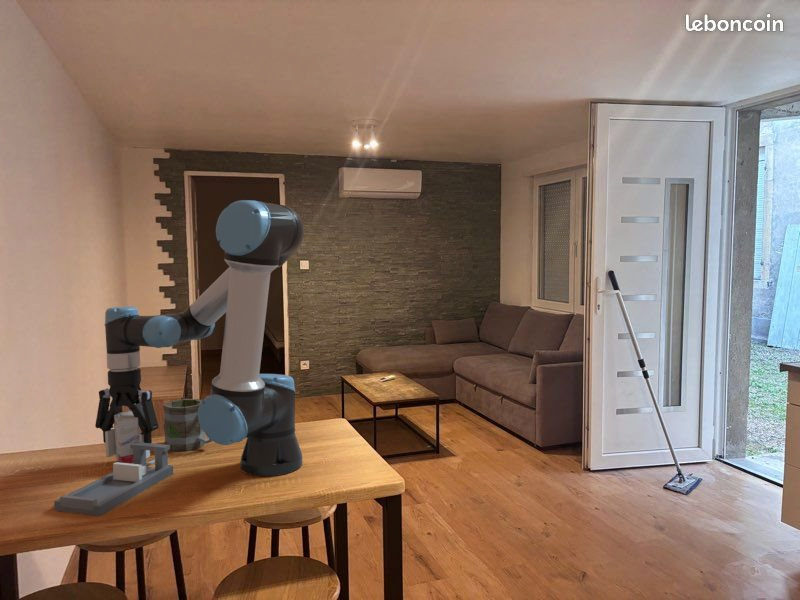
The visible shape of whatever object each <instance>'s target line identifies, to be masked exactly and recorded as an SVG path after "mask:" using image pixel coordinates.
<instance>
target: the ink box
mask: <svg viewBox="0 0 800 600" xmlns="http://www.w3.org/2000/svg"><path fill="white" fill-rule="evenodd" d="M113 427H114V428H113V429H114V432H115V449H116V454H115V459H116V460H117V462H119V463H129V464H130V463H132V462H134V460H133V449H130V444H133V443H135V442H139V434H140V427H139V425H138V418H137V417H134V415H133V413H132V411H131V410H129V411H122V412H118V414H115V415H114V424H113Z"/></svg>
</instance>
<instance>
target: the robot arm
mask: <svg viewBox="0 0 800 600" xmlns="http://www.w3.org/2000/svg"><path fill="white" fill-rule="evenodd" d="M304 235H305V228H304V223H303V221H302V219H301V217H300V215H299V214H298V213H297V212H296V211H295V210H294V209H292V208H291V207H289V206H287V205H285V204H284V205H283V204H278V203H277V204H275V203H270V202H264V201H258V200H254V199H253V200H250V199H249V200H247V199H246V200H245V199H243V200H242V199H241V200H236V201H234V202H232V203H230V204H229V205H227V207H225V208H224V209H223V210H222V211H221V213H220V214H219V216H218V218H217V221H216V226H215V236H216V240H217V242H219V247H220V248H221V249H222V250H223V251H224V259H223V260H224V261H225V263H226V264H227V265H228V266H229V267H227V269H226V270H225V271H224V272H223V273H222V274H221V275H220V276H218V278H217V279H215V281H214V282H213V283H211V285H209V287H208V288H206V290H204V292H202V294H200V295H199V296H198V297H197V298H196V300H195V301H193V302H192V304H190V305H189V306H188V307H187V308H186V309H184V310H183V311H182V312H175V313H167V314H165V313H164V314H157V315H140V313H139V309H138V308H137V307H136V306H112V307H110V308H107V309H106V310H105V313H104V314H105V315H104V319H105V320H104V327H105V328H104V329H105V330H104V331H105V345H106V367H107V369H108V371H107V384H108V386H109V388H105V389H101V390H99V391H98V398H99V400H98V401H99V402H98V407H97V408H98V409H97V412H96V413H97V414H96V420H95V428H96V429H100V430H101V431H102V437H103V441H102V442H103V443H104V444H105V457H106V458H110V457H113V456H116V449H115V432H114V415H115V414H118V413H120V410H121V408H122V406H123V407H128V409H129V411H132V413H133V415H134V417H137V418H138V425H139V430H140V431H141V432H139V442H141V443H152V442H153V441H152V439H153V438H152V437H153V436H152V433H153V432H154V431H155V430H158V429H159V422H158V419H157V414H156V411H155V407H154V403H153V392H152V390H147V391H146V390H143V389H142V388H141V382H142V372H141V371H142V370H141V368H140V366H141V353H140V352H141V347H147V348H155V349H156V348H157V349H162V348H170V347H173V346H175V344H178V343H183V342H188V341H197V340H198V341H199V340H201V339H203V338H207V337H209V336H211V335H212V333H213V332H214V330H215V329H214V328H215V325H216V322H218V320H219V319H220V318H221V317H223V316H224V315H225V319H224V320H225V321H224V330H223V331H224V332H223V338H222V339H223V342H222V350H221V351H222V352H221V361H220V371H219V374H218V375H216V376H215V377H214V378H212V380H211V388H210V395H207V396H205V397H204V399H203V400H202V402H201V403H200V405H199V408H198V420H199V424H200V426H201V428H202V430H203V431H204V432H205V435H206V438H207V439H208V440H209V439H211V440H212V442H214V443H215V444H218V445H221V446H228V445H232V444H235V443H240V442H242V441H243V440H246V441H245V444H244V448H243V451H242V454H241V457H240V469H241V471H242V472H243V473H245V474H247V475H252V476H260V477H269V476H270V477H271V476H279V475H280V476H281V475H284V474H285V475H286V474H289V473H292V472H294V471H296V470H298V469H300V468H301V467H302V466H303V453H302V452H303V451H302V450H301V447H300V443H299V441H298V438H297V436H296V388H295V380H294V378H293V377H292V376H290V375H286V374H280V373H279V374H277V373H260V370H261V364H262V363H261V361H262V354H263V353H262V352H263V343H264V335H265V327H266V326H265V325H266V316H267V309H268V308H267V307H268V299H269V290H270V282H271V274H272V272H273V271H275V270H276V269H277V268H280V267H282V266H283V265H284V264H285V263H286V262H287V261H289V259H290V258H291V257H293V256H294V254H296V252H297V251H298V250H299V248H300V246H302V242H303V240H304ZM111 398H112V399H111ZM152 444H153V443H152ZM148 458H151V450H146V459H148Z"/></svg>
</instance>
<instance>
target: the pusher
mask: <svg viewBox="0 0 800 600" xmlns="http://www.w3.org/2000/svg"><path fill="white" fill-rule="evenodd" d="M153 464H155V458H154V459H152V460H150V461H148V462H146V464H144V465H139V464H129V463H119V462H118V461H116V462H114V463H112V471H113V476H114V480H123V481H132V482H138V481H139V480H141V479H142V476H143V475H145V474H147V471H146V467H150V466H152V465H153Z"/></svg>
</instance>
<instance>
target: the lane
mask: <svg viewBox="0 0 800 600" xmlns="http://www.w3.org/2000/svg"><path fill="white" fill-rule="evenodd" d="M130 449H133V460H134V462H132V463H130V464H139V465H144V464H146V463H147V458H146V450H150V452H151V451H153V452H154V459H155V463H154V466H155V467H150V466H148V467H146V471H147V474H145V475H143V476H142V479H141V480H139V481H138V482H132V481H123V480H114V476H113V472H110V473H108V474H106V475H105V476H102V477H100V478H99V479H97V480H94V481H92V482H90V483H88V484H86V485H84V486H81V487H80V488H78V489H76V490H73V491H71V492H69V493H68V494H63V495H61V496H60V497H59V498H58V499H55V500H53V501H54V503H53V504H54V505H53V506H54V511H56V512H58V511H59V512H64V513H72V514H73V513H74V514H80V515H87V516H95V517H96V516H97V517H101V516H102V515H104V514H106V513H108V512H110V511H111V510H113V509H115V508H117V507H118V506H120V505H122V504H124V503H126V502H127V501H128V500H130V499H132V498H135V496H137V495H139V494H141V493H142V492H144V491H146V490H147V489H149V488H151V487H153V486H155V485H157V484H158V483H160V482H162V481H163V480H165V479H167V478H168V477H170V476H172V475H174V465H173V464H172V465H169V463H168V462H169V461H168V458H169V457H168V450H169V449H170V445H165V444H163V443H141V442H135V443H133V444H130Z"/></svg>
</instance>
